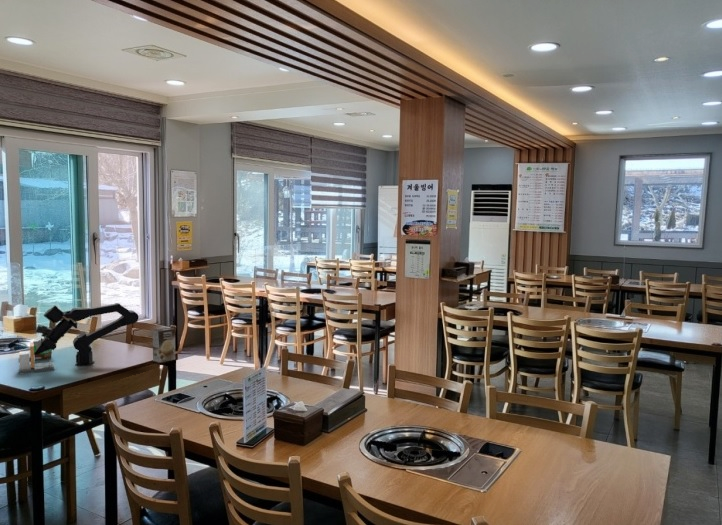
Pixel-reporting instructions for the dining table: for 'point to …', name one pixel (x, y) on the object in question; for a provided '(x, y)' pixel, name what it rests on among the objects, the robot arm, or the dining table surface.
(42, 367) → the bearing base
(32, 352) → the tan trapezoid block
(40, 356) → the food container
